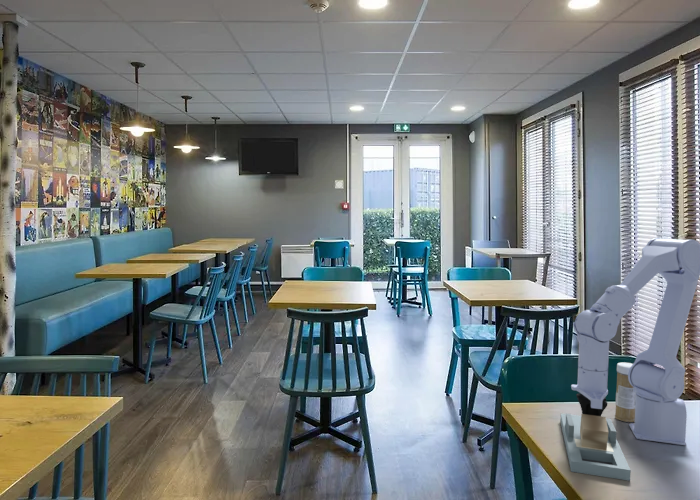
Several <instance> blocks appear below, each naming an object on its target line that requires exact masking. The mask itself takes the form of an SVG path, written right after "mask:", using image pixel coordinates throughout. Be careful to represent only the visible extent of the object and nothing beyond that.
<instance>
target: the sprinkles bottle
mask: <svg viewBox="0 0 700 500" xmlns="http://www.w3.org/2000/svg"><path fill="white" fill-rule="evenodd" d="M633 364H634V363H631V362H625V361H624V362H618V363H617V364H616V373H617V374H616V389H615V390H616V392H615V411H614V412H615V414H614V418H615V419H616V420H618V421H621V422H624V423H634V422H635V401H636V392H634V391H633V386H632V385H631V384H630V382H629V380H628V372H629V369H630V367H631V366H632V365H633Z"/></svg>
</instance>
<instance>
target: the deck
mask: <svg viewBox="0 0 700 500" xmlns="http://www.w3.org/2000/svg"><path fill="white" fill-rule="evenodd" d="M606 421H607V427H608V441H607V450H602V449H596V448H589V447H582V444H581V435H580V426H581V415H577V414H571V413H563V412H562V413H560V425H561V427H560V428H561V431H562V435H563V439H564V444H565V450H566V453H567V458H568V459H567V460H568V463H569V464H568V465H569V468H570V472H572V473H578V474H585V475H590V476H591V475H593V476H598V477H605V478H610V479H618V480H624V481H631V467H630V466H629V463H628V461H627V459H626V457H625V454H624V453H623V450H622V448H621V445H620V444H619V441H618V440H617V430H616V428H615V425H614V424H613V421H612V419H611V418H607V417H606Z"/></svg>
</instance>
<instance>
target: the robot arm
mask: <svg viewBox="0 0 700 500" xmlns="http://www.w3.org/2000/svg"><path fill="white" fill-rule="evenodd" d="M658 274H659V275H661V276H662V277H663V278H664V279H665V281H666V282H667V284H666V286H665V289H664V295H663V298H662V301H661V304H660V308H659V310H658V314H657V318H656V322H655V325H654V329H653V332H652V335H651V338H650V342H649V346H648V348H647V349H645V350H644V351H642V352H640V353H638V354H637V355H636V358H635V360H634V362H633V363H632V364H633V365H632V366H631V367H630V369H629V372H628V380H629V382H630V384H631V385H632V386H633V391H634V392H636V401H635V421H634V422H633V423H632V422H629V424H628V425H629V428H630V429H631V431H632V433H633V435H634V437H635V438H636V439H637V440H644V441H651V442H657V443H658V442H659V443H664V444H673V445H678V446H679V445H681V446H687V442H686V433H687V416H688V415H687V413H688V412H687V408H686V403H685V401H684V399H683V398H682V399H681V396H682V395H683V392H684V389H685V374H686V368H685V367H684V366H683V365H682V363H681V362H680V361H679V360H678V358H677V354H678V352H679V348H680V346H681V341H682V338H683V334H684V330H685V328H686V325H687V321H688V317H689V314H690V310H691V307H692V303H693V300H694V297H695V293H696V290H697V287H698V283H699V279H700V243H699V241H697V240H695V239H675V238H674V239H671V238H660V237H654V238H651V239H650V240H649V241H648V242H647V243H646V245H645V246H644V247H643V248H642V249H641V257H640V259H639V260H638V261H637V262H636V264H635V265H634V266H633V268H632V269H631V270H630V271H629V273H628V274H627V275H626V277H624V279H623V280H622V282H621V283H620V284H617V285H615V284H613V285H611V286H607V287H606V288H605V290H604V293H603V294H602V295H601V296H600V297H599V298H598V299H597V300H596V302H594V303H593V304H592V306H591V307H590V308H589V309H585V310H582V311H581V312H580V313H578V315H577V316H576V317H575V320H574V322H573V323H572V327H573V330H574V332H575V334H576V336H577V337H576V338H577V339H576V341H577V342H578V360H577V384H571V385H570V387H571V390H572V391H576V392H578V393H577V394H576V398H577V402H578V404H579V405H580V409H581V414H586V415H594V416H603V415H602V414H603V413H604V411H605V410H606V408H607V407H608V402H607V398H606V397H607V395H608V394H609V390H608V376H609V357H610V356H609V354H610V341H611V340H612V339H613V338H614V337H615V336H616V334H617V331H618V326H619V325H620V323H621V320H622V318H623V317H624V316H625V315H626V314H627V313H628V312H629V311H630V309H632V307H633V306H634V305H635V304H636V296H635V295H636V294H637V293H638V292H640V291H641V290H642V289H643V288H644V287H645V286H646V285H647V284H648V283H649V282H651V280H653V278H654V277H656V276H657V275H658ZM656 365H658V366H656ZM659 366H661V367H659ZM662 367H663V368H662Z"/></svg>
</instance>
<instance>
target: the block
mask: <svg viewBox="0 0 700 500" xmlns="http://www.w3.org/2000/svg"><path fill="white" fill-rule="evenodd" d="M580 416H581V426H580V435H581V444H582V447H589V448H596V449H602V450H607V441H608V427H607V421H606V418H607V417H606V416H603V415H601V416H594V415H586V414H582V413H581V414H580Z"/></svg>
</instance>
